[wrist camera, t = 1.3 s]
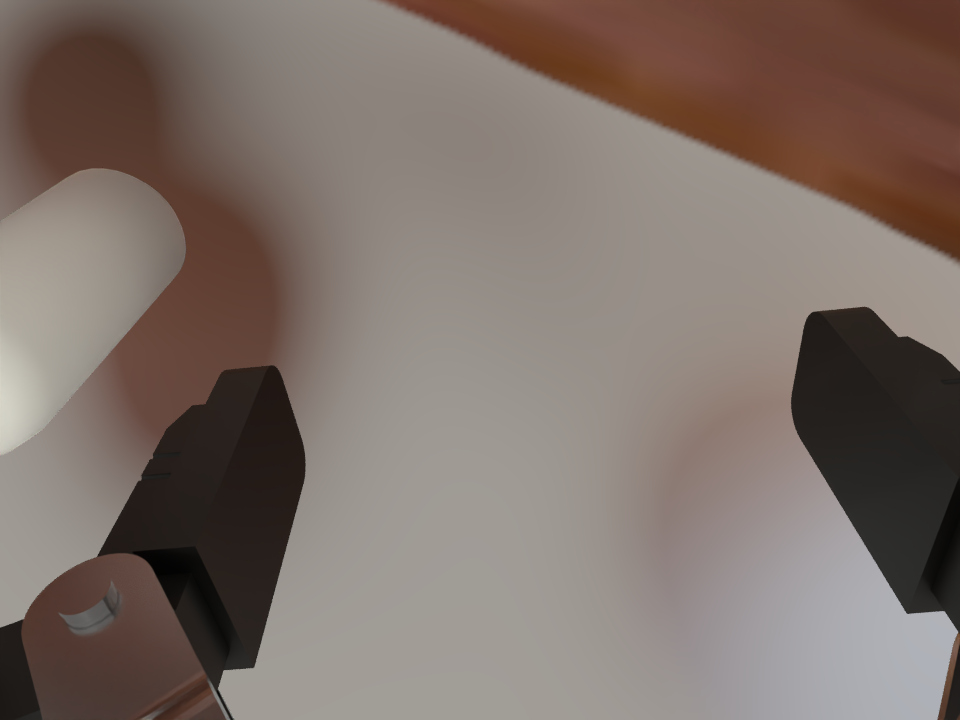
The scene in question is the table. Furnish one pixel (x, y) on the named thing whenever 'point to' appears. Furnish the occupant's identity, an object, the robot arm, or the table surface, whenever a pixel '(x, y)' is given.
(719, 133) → the table surface
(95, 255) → the alcohol
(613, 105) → the table surface
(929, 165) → the table surface
